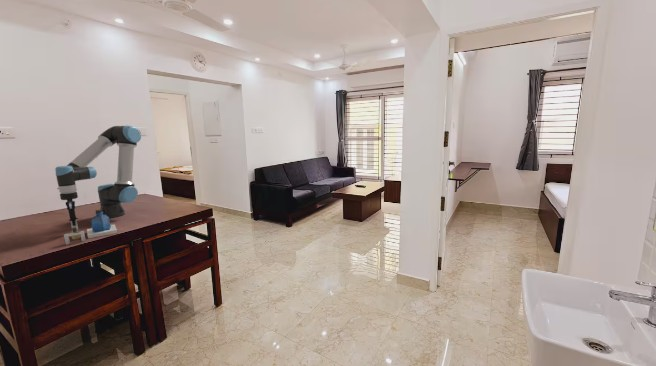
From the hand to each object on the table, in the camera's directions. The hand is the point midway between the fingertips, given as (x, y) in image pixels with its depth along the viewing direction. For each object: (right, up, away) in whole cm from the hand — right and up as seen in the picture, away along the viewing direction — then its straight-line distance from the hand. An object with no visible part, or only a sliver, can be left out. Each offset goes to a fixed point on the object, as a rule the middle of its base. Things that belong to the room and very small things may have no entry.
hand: (75, 230), depth 170 cm
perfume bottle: (+16, 0, 0) cm, 16 cm away
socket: (+16, -1, 0) cm, 16 cm away
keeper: (+13, -4, -14) cm, 20 cm away
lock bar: (+7, -3, -7) cm, 10 cm away
